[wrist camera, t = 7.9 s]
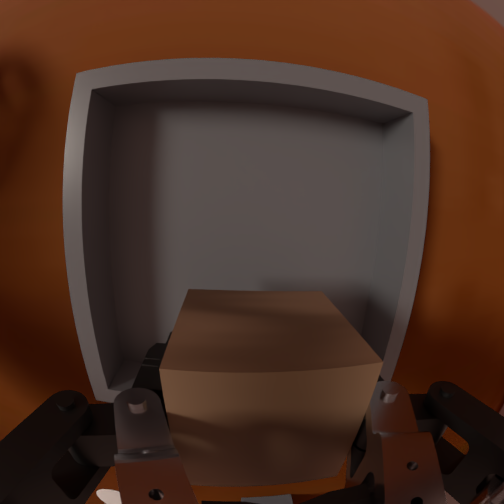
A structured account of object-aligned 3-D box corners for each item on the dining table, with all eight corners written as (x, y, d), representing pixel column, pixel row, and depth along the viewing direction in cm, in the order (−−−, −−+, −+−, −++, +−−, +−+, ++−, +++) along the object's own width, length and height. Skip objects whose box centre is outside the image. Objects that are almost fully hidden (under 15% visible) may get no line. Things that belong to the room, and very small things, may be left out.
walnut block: (194, 393, 11) (183, 484, 6) (188, 288, 10) (159, 368, 5) (304, 391, 12) (336, 475, 7) (321, 291, 11) (383, 362, 6)
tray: (114, 365, 15) (95, 399, 12) (105, 94, 12) (76, 73, 8) (361, 366, 17) (384, 397, 13) (391, 113, 13) (427, 99, 10)
